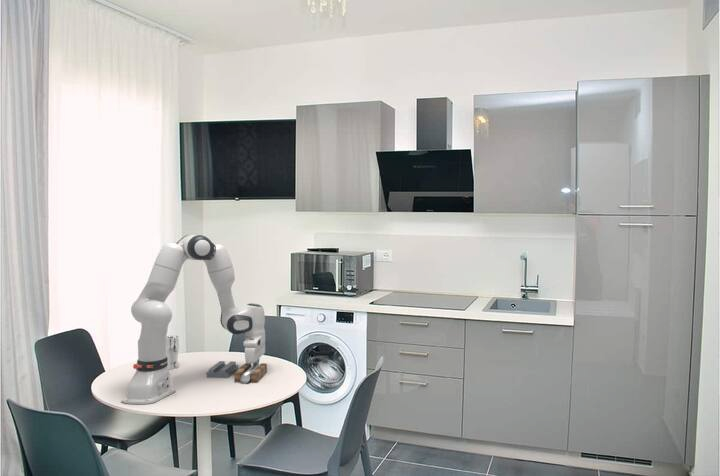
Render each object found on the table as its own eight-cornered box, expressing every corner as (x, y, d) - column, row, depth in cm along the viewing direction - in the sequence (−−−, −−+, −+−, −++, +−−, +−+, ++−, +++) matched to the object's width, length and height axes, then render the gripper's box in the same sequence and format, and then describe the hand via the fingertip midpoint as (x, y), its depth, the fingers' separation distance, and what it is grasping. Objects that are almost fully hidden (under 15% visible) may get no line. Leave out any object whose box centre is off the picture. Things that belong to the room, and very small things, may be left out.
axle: (249, 383, 242) (249, 374, 242) (240, 383, 243) (240, 374, 243) (259, 373, 258) (259, 364, 258) (251, 372, 259) (251, 364, 259)
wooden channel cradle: (256, 385, 244) (256, 373, 243) (234, 384, 245) (234, 373, 245) (267, 374, 260) (266, 363, 259) (245, 373, 261) (245, 363, 260)
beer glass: (174, 364, 277) (173, 334, 276) (182, 367, 272) (181, 336, 272) (161, 368, 271) (160, 337, 271) (169, 370, 267) (168, 339, 266)
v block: (228, 380, 251) (227, 370, 251) (206, 379, 252) (206, 369, 252) (238, 370, 265) (238, 361, 265) (217, 370, 266) (217, 361, 266)
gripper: (255, 333, 270) (255, 361, 271) (242, 343, 250) (242, 374, 251) (268, 333, 269) (268, 362, 270) (256, 344, 249) (256, 374, 250)
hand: (256, 368), depth 260 cm, fingers closed
